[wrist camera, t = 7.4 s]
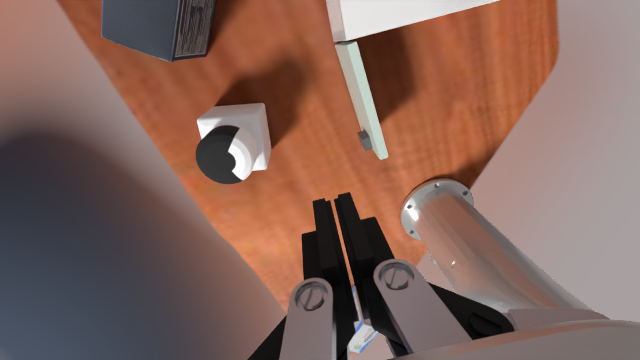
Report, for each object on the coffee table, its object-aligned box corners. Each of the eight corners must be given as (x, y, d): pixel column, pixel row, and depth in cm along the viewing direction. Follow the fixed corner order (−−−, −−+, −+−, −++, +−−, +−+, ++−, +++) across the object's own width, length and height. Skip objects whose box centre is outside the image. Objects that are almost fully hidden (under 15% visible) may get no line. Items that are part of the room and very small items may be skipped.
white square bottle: (224, 154, 40) (198, 194, 30) (212, 106, 37) (178, 131, 26) (272, 150, 41) (263, 188, 30) (264, 102, 37) (252, 125, 27)
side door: (356, 138, 40) (372, 163, 32) (327, 48, 35) (337, 49, 26) (369, 133, 40) (388, 157, 32) (342, 42, 34) (356, 41, 26)
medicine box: (353, 283, 55) (362, 323, 47) (371, 289, 56) (384, 329, 48) (334, 308, 58) (340, 349, 50) (352, 313, 59) (361, 354, 51)
